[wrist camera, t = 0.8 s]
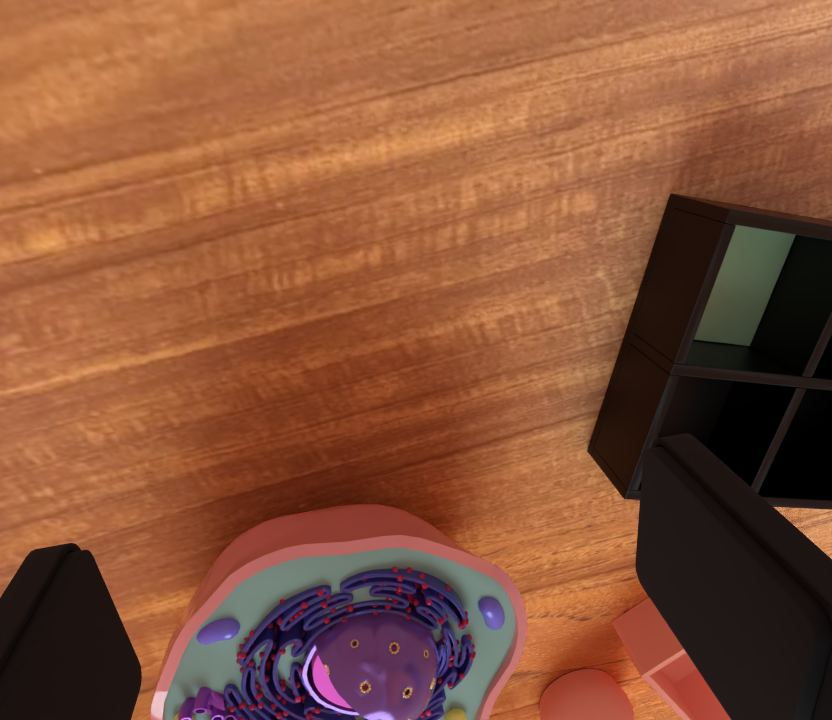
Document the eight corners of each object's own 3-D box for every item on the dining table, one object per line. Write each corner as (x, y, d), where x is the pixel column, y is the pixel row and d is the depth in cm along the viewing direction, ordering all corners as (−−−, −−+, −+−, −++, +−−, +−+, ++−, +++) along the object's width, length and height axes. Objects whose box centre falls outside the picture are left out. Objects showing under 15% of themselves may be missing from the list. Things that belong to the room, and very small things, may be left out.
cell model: (116, 632, 34) (30, 857, 24) (311, 376, 30) (308, 522, 19) (351, 718, 40) (363, 927, 30) (544, 517, 36) (634, 684, 26)
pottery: (722, 548, 39) (841, 679, 30) (773, 620, 43) (891, 755, 34) (506, 690, 42) (557, 850, 33) (572, 746, 46) (634, 902, 37)
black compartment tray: (670, 193, 29) (730, 209, 25) (912, 234, 32) (1002, 255, 28) (586, 451, 34) (623, 499, 30) (799, 465, 37) (860, 511, 33)
